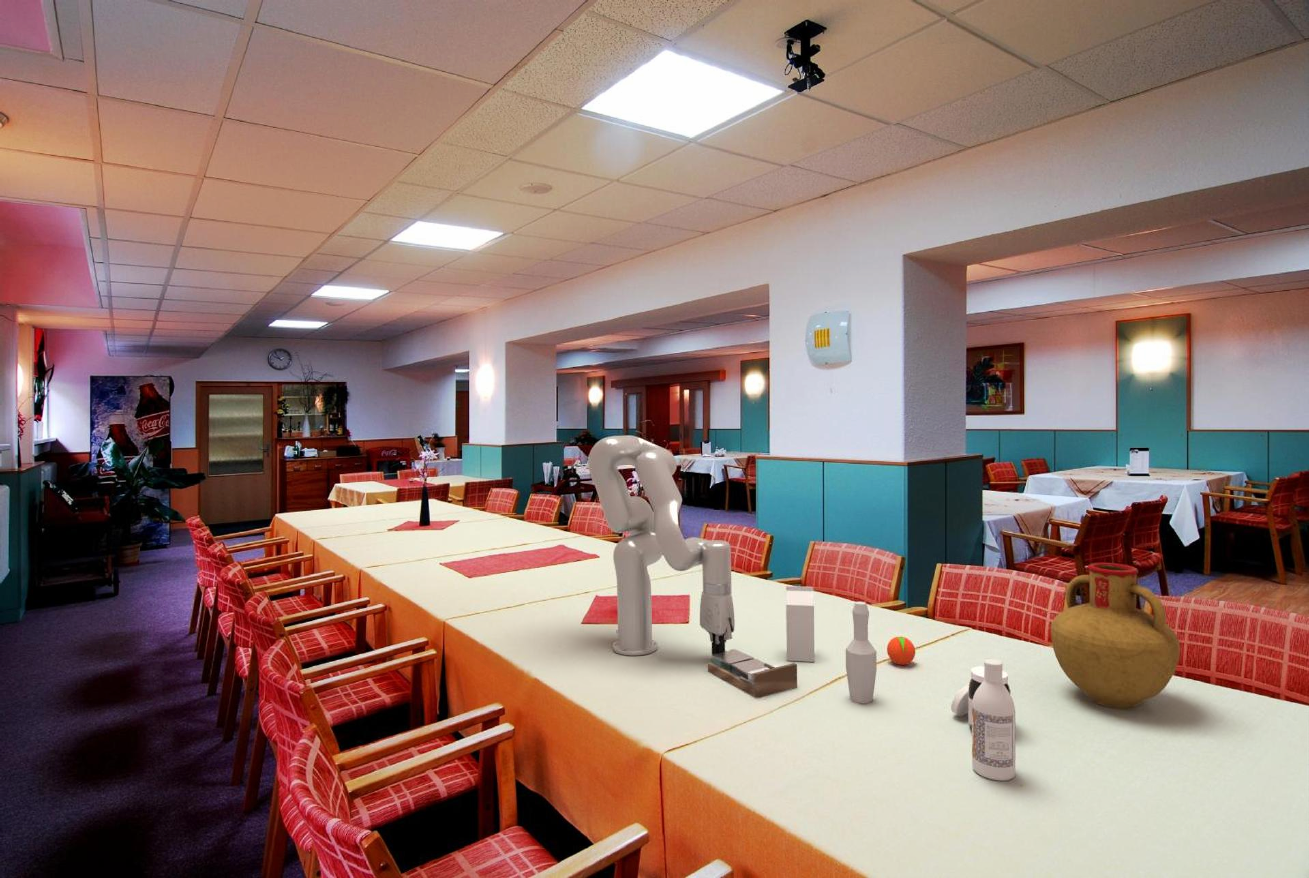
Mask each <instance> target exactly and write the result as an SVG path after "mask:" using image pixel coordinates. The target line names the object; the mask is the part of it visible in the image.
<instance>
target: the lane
mask: <svg viewBox="0 0 1309 878" xmlns="http://www.w3.org/2000/svg"><path fill="white" fill-rule="evenodd" d="M754 659H755V658H754ZM754 659H753V660H754ZM764 663H765V664H764V666H765V667H767V668H769V669H768V670H764V671H760V672H756V673H754V683H753V682H751V681H749V680H747V679H745V678H743V677H738V676H736V675H734V674H732V673H730V672H728V671H726V670H724V669H722V668H721V667H719V666H717V665H715V664H713V663H712V662H707V671H708V672H709V673H711V674H713V675H714V676H716V677H719V678H720V679H721V680H724V681H726V682H727V683H729V684H731V685H732V686H734V687H736V688H738V689H739V690H740V691H741V690H742V691H744V692H745V693H747V694H749V695H751V696H752V697H754V698H755V699H756V698H757V699H759V698H762V697H767V696H770V695H774V694H777V693H778V694H779V693H781V692H785V691H788V690H792V689H795V688H798V664H797V663H795V662H793V663H789V664H785V665H781V666H780V667H776V668H775V667H773V666H774V665H771V664H768V663H766V662H764Z"/></svg>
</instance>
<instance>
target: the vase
mask: <svg viewBox="0 0 1309 878" xmlns="http://www.w3.org/2000/svg"><path fill="white" fill-rule="evenodd" d="M1087 568H1088V571H1089V574H1082V575H1078V576H1076V577H1073V578H1072V579H1071V580H1070V582H1069V583H1068V584H1067V586H1066V590H1065V601H1066V605H1067V609H1064V610H1063V611H1061V612H1060V613H1058V614H1056V616H1054V618H1053V619H1052V622H1051V625H1050V636H1051V643H1052V645H1051V646H1052V649H1053V652H1054V655H1055V658H1056V660H1057V663H1058V664H1059V666H1060V668H1061V669H1062V671H1063V672H1064V674H1065V675H1066V677H1067V678H1068V679H1069V680H1070V681H1071V682H1072V683H1073V684H1074V685H1075V686H1076V687H1077V688H1078V689H1080V690H1081V691H1082V692H1083V693H1084V694H1086V695H1087V696H1088V698H1090V700H1092V701H1093V702H1095V703H1097V704H1099V705H1102V706H1105V707H1108V708H1109V707H1110V708H1113V709H1132V708H1134V707H1136V706H1138V705H1139V704H1141V703H1143V702H1145V701H1148V700H1150V699H1152V698H1154V697H1157V695H1159V694H1160V693H1161V692H1162V691H1163V690H1164V689H1165V688H1167V685H1168V684H1169V682H1170V681H1171V679H1172V677H1173V675H1174V674H1175V672H1176V669H1177V668H1178V667H1177V666H1178V663H1179V660H1180V653H1181V643H1180V640H1179V638H1178V636H1177V634H1176V632H1175V631H1174V630H1173V629H1172V628H1171V627H1170V626H1169V625H1168V624H1167V623H1166V619H1167V614H1166V610H1165V608H1164V605H1163V603H1162V601H1161V600H1160V599H1159V597H1158V596H1157V595H1156V594H1155V593H1154V592H1153V591H1151V590H1150V589H1148V588H1146V587H1144V586H1143V585H1139V584H1137V574H1138V573H1139V569H1138V568H1137V567H1134V566H1132V565H1128V564H1121V563H1115V562H1094V563H1090V564H1088V565H1087ZM1083 585H1089V602H1088V603H1087V602H1086V603H1081V604H1078V603H1077V597H1076V595H1077V591H1078V589H1079V588H1080V587H1081V586H1083ZM1137 596H1139V597H1141V598H1142V599H1144V600H1145V601H1146V602H1147V603H1148V604H1149V606H1150V607H1151V609H1152V613H1153V614H1151V613H1149V612H1147V611H1144V610H1142V609H1140V608H1137Z"/></svg>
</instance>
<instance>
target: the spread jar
mask: <svg viewBox="0 0 1309 878" xmlns="http://www.w3.org/2000/svg"><path fill="white" fill-rule="evenodd" d="M983 681H984V665H983V666H979V665H978V666H975V667H974V666H973V667H971V669H970V680H969V683H968V684H967V685H965V686H963V687H961V688H960V689H959V690H958V692H957V693H956V694H955V695H954V697H953V700H952V701H951V702H952V703H951V705H950V708H951V709H950V710H951V711H952V713H954V714H955V715H956V716H958V717H963V716H964V715H966V714H967V713H968V717H967V718H968V725H969V727H970V728H971V729H972V701H973V697H974V694H975V692H976V690H977V689H978V687H979V686H980V685H981V684H982V682H983ZM1002 683H1003V684H1004V686H1005V687H1006V689H1007V690H1008V692H1009V693H1010V695H1011V691H1012V690H1011V688H1010V685H1009V674H1008V672H1006V671H1005V670H1003V669H1002ZM1011 696H1012V695H1011Z"/></svg>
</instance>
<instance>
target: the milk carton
mask: <svg viewBox="0 0 1309 878" xmlns="http://www.w3.org/2000/svg"><path fill="white" fill-rule="evenodd" d="M785 588H786V589H785V593H786V596H785V598H786V599H785V617H786V618H785V619H786V623H785V625H786V627H785V628H786V631H785V632H786V661H791V662H809V663H810V662H811V663H812V662H813V663H814V662H815V661H816V660H815V599H814V598H815V595H814V593H815V592H814V587H813V586H799V585H798V586H796V585H794V586H791V585H788V586H787V585H786V586H785Z"/></svg>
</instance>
